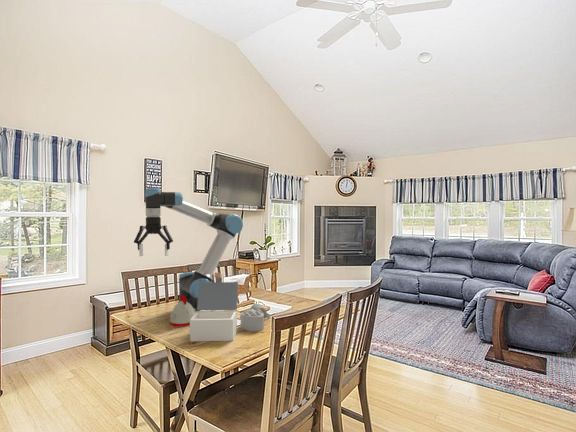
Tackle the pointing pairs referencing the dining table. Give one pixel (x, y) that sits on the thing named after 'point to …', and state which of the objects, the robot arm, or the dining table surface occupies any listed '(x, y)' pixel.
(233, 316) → the carton
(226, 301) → the carton lid
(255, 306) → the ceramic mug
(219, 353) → the dining table surface
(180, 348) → the dining table surface
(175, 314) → the kitchen timer
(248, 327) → the lumpy-topped squat cylinder
